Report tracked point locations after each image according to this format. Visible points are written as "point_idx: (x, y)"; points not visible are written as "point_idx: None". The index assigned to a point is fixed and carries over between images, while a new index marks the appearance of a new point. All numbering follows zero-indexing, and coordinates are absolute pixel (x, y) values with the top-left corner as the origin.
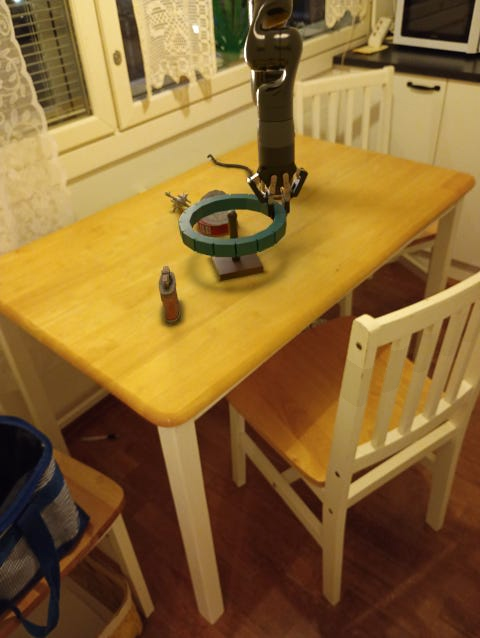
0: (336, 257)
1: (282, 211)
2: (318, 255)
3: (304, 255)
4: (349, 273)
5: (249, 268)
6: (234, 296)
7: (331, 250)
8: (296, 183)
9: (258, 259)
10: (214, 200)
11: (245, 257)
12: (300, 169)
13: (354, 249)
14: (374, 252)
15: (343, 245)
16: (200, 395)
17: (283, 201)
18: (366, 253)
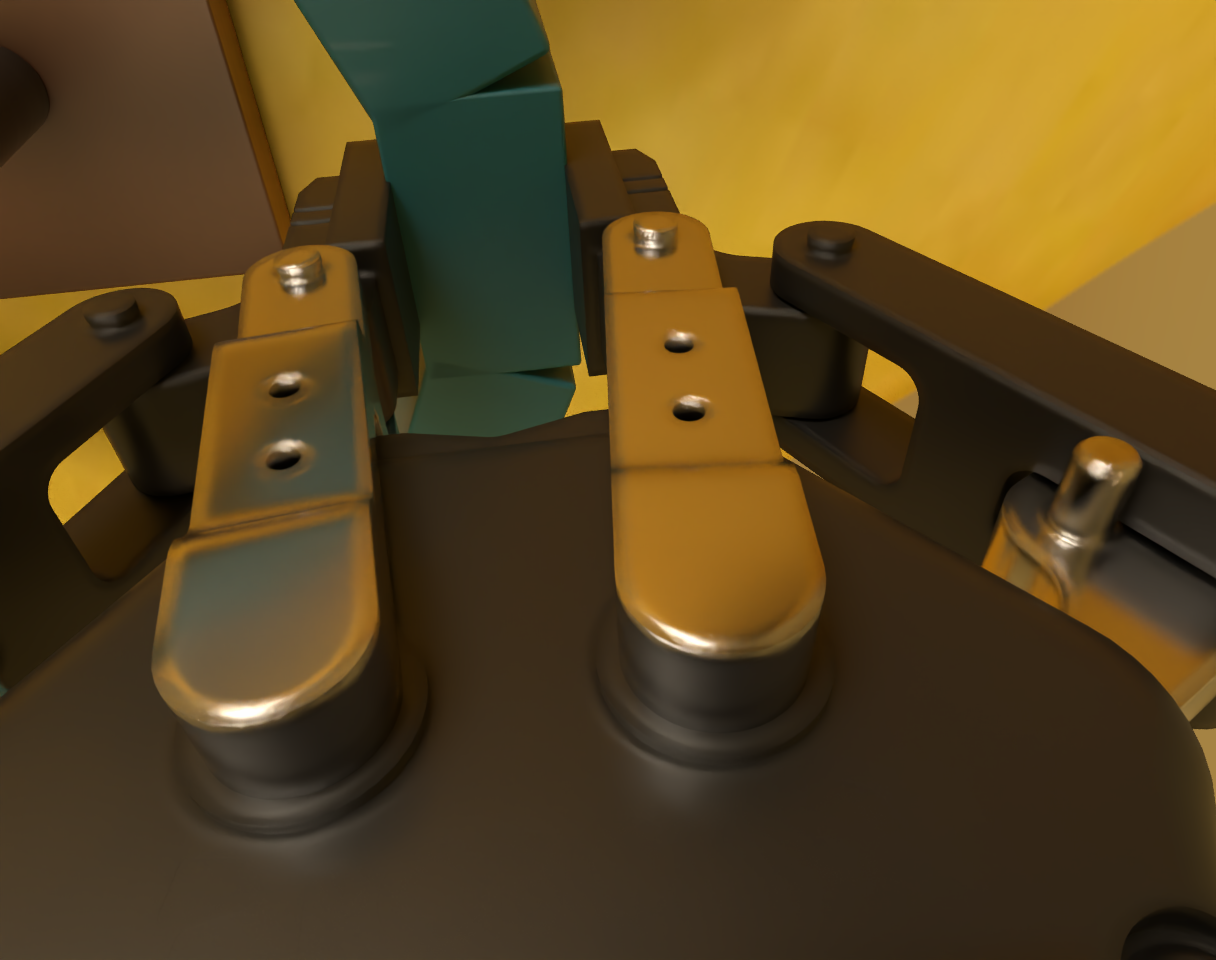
0: (903, 183)
1: (532, 351)
2: (796, 114)
3: (690, 78)
4: (865, 384)
5: (167, 278)
6: (88, 467)
7: (931, 64)
8: (920, 487)
9: (248, 157)
10: None
11: (105, 82)
12: (1192, 714)
13: (1091, 105)
14: (1171, 191)
15: (1066, 8)
16: None
17: (586, 329)
18: (1117, 188)
